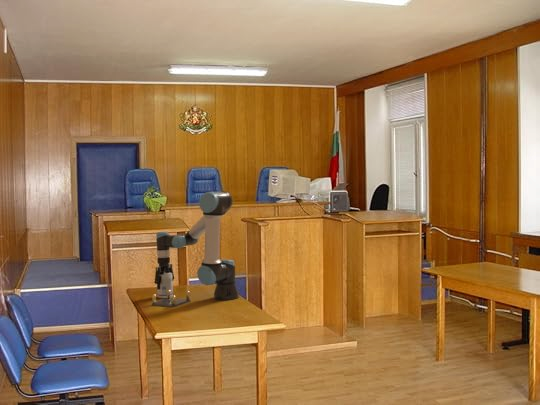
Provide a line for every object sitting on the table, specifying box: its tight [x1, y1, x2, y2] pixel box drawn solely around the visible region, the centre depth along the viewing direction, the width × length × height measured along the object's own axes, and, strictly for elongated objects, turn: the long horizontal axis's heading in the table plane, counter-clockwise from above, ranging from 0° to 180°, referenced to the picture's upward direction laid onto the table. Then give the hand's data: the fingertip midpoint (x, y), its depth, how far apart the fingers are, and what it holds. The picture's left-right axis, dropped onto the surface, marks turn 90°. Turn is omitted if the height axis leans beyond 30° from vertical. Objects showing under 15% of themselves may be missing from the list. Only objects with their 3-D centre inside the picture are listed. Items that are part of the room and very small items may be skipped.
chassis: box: [151, 290, 191, 308], centre depth 358 cm, size 16×16×6 cm
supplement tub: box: [156, 272, 174, 299], centre depth 377 cm, size 10×10×15 cm
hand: (165, 292), depth 377 cm, fingers closed on supplement tub, 9 cm apart
